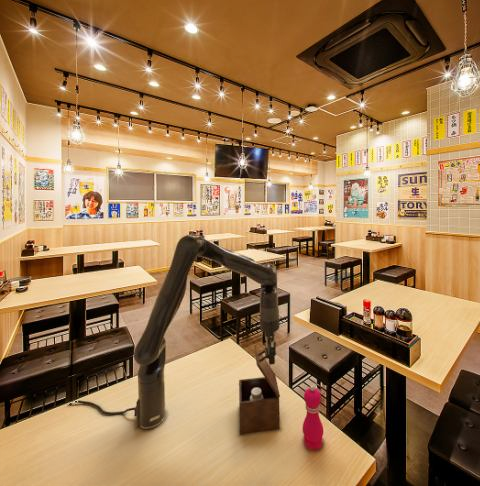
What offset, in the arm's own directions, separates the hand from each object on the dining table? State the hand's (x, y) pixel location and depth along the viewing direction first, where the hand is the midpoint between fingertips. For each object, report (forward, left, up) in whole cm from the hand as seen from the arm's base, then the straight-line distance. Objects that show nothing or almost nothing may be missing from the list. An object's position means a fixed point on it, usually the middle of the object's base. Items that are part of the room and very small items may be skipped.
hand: (270, 359), depth 100 cm
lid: (-2, 0, -4) cm, 5 cm away
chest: (-5, 0, -23) cm, 23 cm away
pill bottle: (-6, 0, -22) cm, 23 cm away
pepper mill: (+13, -13, -23) cm, 29 cm away
